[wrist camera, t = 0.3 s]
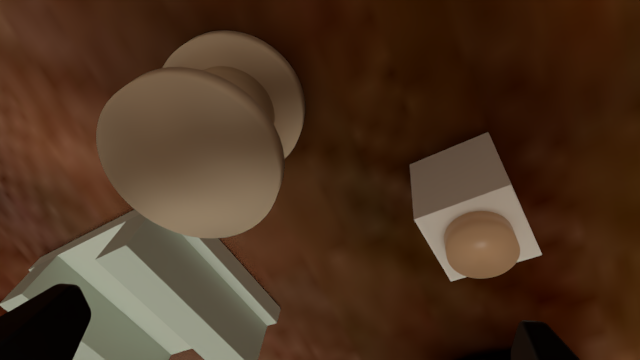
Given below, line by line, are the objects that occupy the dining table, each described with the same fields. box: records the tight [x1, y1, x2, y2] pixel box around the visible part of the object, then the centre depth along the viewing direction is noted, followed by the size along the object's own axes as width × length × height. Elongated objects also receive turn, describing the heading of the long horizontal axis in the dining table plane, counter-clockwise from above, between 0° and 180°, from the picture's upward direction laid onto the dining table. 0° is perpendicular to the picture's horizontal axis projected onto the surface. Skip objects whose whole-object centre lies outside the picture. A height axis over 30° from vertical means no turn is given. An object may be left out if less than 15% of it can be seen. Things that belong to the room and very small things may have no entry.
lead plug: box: [410, 132, 542, 281], centre depth 19 cm, size 4×4×6 cm
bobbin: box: [96, 30, 306, 238], centre depth 18 cm, size 7×7×6 cm
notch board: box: [0, 209, 281, 360], centre depth 27 cm, size 11×13×4 cm
